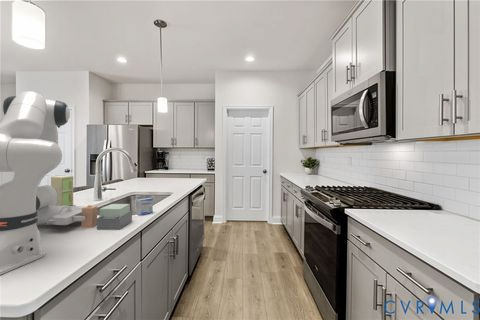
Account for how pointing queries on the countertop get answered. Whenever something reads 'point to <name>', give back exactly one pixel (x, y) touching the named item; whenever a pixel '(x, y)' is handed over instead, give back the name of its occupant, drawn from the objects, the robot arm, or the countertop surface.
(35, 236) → the robot arm
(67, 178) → the toy refrigerator
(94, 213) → the orange knobbed block
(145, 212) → the medicine box
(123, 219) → the green-topped grey pedestal
